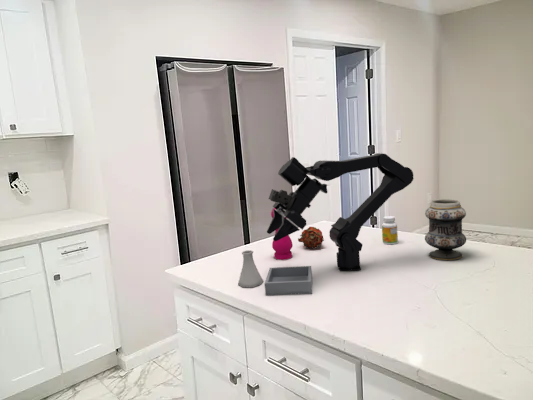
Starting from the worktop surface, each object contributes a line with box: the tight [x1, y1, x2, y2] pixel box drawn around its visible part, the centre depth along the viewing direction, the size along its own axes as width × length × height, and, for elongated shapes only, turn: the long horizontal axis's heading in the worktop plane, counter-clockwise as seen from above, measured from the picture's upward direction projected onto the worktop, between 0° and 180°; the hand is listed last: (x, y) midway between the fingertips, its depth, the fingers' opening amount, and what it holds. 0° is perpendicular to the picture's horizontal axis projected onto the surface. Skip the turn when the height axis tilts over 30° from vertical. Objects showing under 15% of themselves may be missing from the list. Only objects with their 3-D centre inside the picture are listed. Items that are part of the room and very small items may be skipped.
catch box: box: [264, 265, 313, 296], centre depth 114 cm, size 13×13×4 cm
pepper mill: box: [270, 207, 293, 261], centre depth 139 cm, size 7×7×20 cm
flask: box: [237, 249, 264, 289], centre depth 118 cm, size 7×7×10 cm
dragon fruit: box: [297, 226, 325, 249], centre depth 150 cm, size 8×8×12 cm
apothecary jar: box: [424, 198, 467, 261], centre depth 126 cm, size 12×12×18 cm
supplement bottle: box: [381, 215, 399, 246], centre depth 146 cm, size 5×5×10 cm
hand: (270, 236), depth 118 cm, fingers open, 9 cm apart
